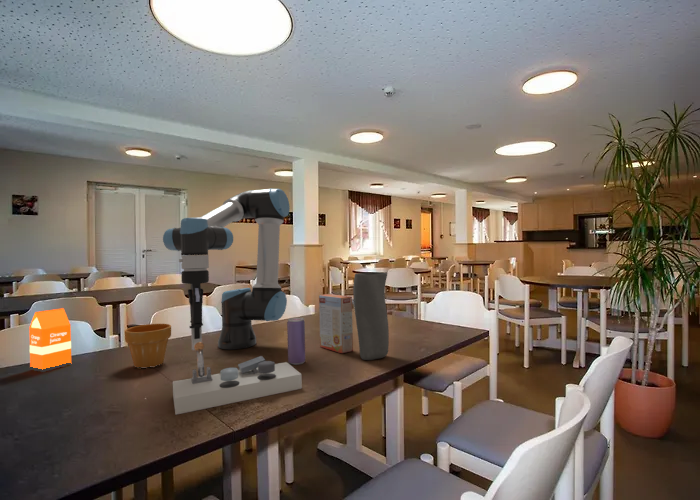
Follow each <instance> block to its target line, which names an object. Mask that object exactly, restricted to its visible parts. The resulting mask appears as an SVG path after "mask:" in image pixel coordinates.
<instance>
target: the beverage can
mask: <svg viewBox="0 0 700 500" xmlns="http://www.w3.org/2000/svg"><path fill="white" fill-rule="evenodd" d="M286 323H287V324H286V325H287V335H286V336H287V363H288V364H290V365H291V366H292V365H293V366H297V365H298V366H299V365H302V364H304V363H305V362H306V361H307V360H306V357H307V356H306V329H305V328H306V326H305V325H306V323H305V317H304V318H303V317H291V318H288V319H287V322H286Z"/></svg>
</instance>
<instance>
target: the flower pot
mask: <svg viewBox="0 0 700 500" xmlns="http://www.w3.org/2000/svg"><path fill="white" fill-rule="evenodd" d="M171 337H172V325H171V324H169V323H148V324H142V325H135V326H132V327H128V328H126V329H124V341H125V343H127V344H128V348H129V350H130V356H131V359H132V363H133V365H134V366H133V367H135V366H136V367H150V366H156V365H159V364H161V365H163V364H162V363H164V362H165V356H166V352H167V347H168V343H169V339H170V338H171ZM159 366H160V365H159Z"/></svg>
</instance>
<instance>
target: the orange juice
mask: <svg viewBox="0 0 700 500" xmlns="http://www.w3.org/2000/svg"><path fill="white" fill-rule="evenodd" d="M71 325H72V324H71V322H70V320H69V318H68V315H67V313H66V311H65V308H64V307H61V308H55V309H49V310H41V311H34V314H33V316H32V319H31V322H30V324H29V328H28V331H29V332H28V333H29V368H30V367H33V368H38V369H42V370H43V369H46V368H50V367H55V366H59V365H62V364H66V363H71V364H72V331H71Z"/></svg>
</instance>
